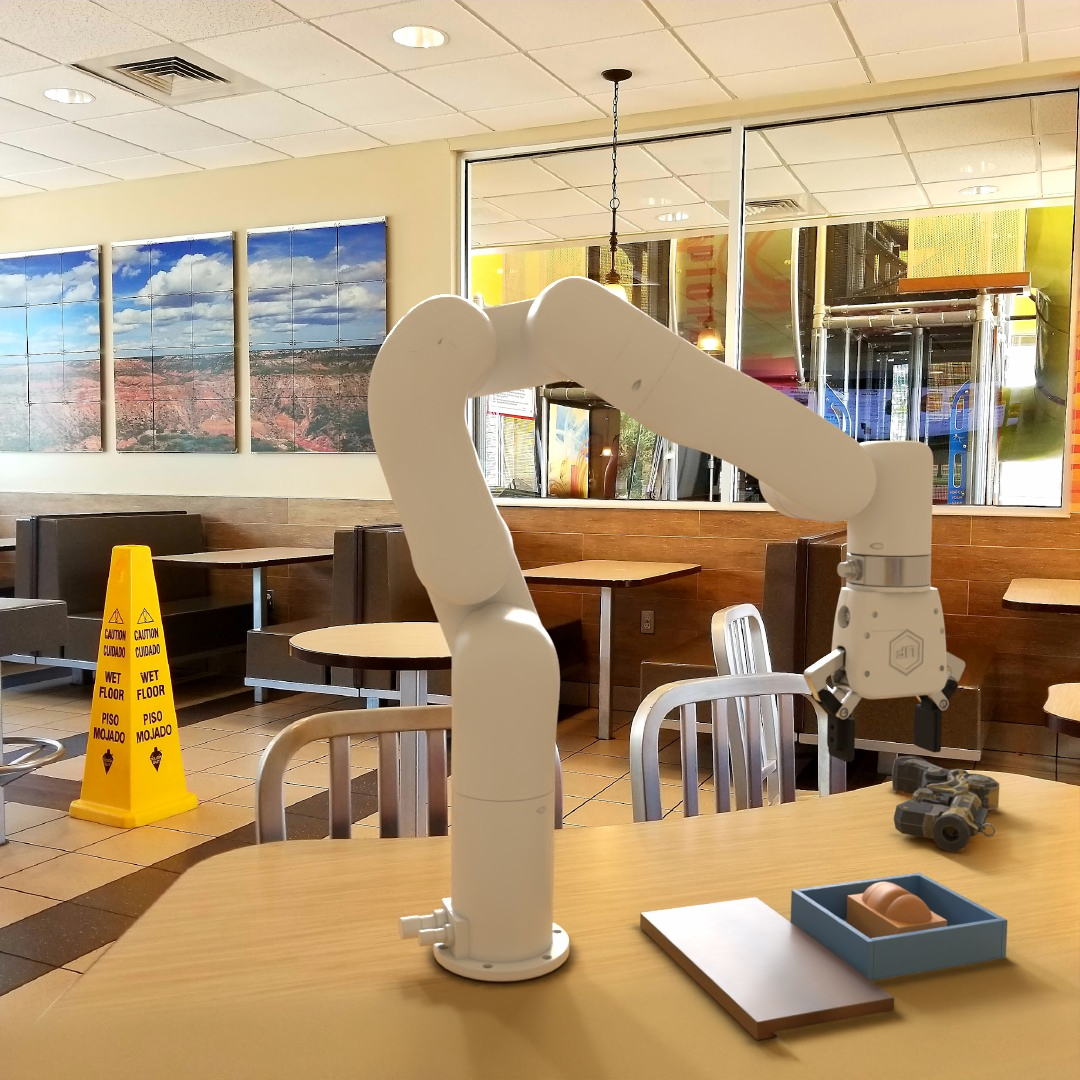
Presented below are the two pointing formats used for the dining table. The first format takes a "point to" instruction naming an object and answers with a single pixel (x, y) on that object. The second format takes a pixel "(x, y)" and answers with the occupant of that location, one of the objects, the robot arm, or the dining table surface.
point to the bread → (889, 911)
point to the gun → (942, 802)
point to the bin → (959, 943)
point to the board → (763, 966)
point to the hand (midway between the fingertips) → (884, 753)
